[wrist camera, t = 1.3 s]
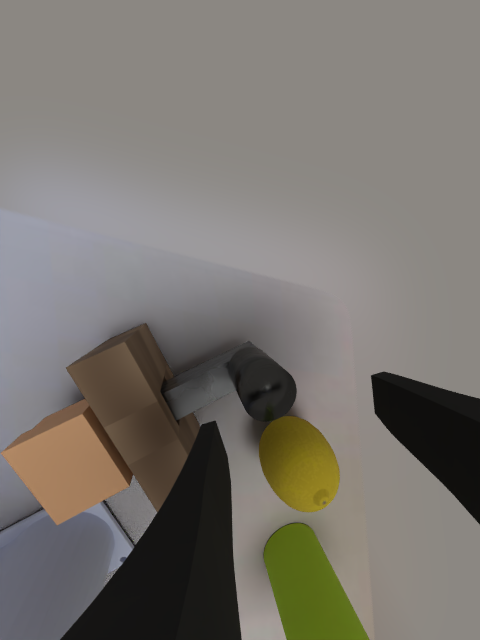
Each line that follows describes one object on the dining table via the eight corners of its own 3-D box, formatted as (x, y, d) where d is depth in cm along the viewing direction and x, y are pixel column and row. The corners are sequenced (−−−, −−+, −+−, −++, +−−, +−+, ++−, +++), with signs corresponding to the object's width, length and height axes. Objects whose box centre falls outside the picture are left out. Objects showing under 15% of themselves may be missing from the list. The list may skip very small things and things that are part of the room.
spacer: (84, 474, 16) (57, 525, 12) (43, 414, 15) (0, 452, 11) (141, 445, 16) (129, 486, 13) (105, 385, 15) (82, 413, 12)
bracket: (167, 442, 20) (158, 513, 14) (108, 339, 18) (65, 367, 11) (199, 425, 20) (205, 486, 14) (145, 323, 18) (124, 341, 12)
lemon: (264, 392, 21) (309, 451, 14) (312, 411, 23) (377, 474, 15) (238, 445, 21) (267, 534, 14) (287, 461, 23) (338, 549, 15)
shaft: (68, 465, 16) (-2, 572, 10) (45, 432, 15) (-45, 525, 9) (265, 366, 18) (303, 404, 12) (251, 333, 17) (285, 357, 11)
